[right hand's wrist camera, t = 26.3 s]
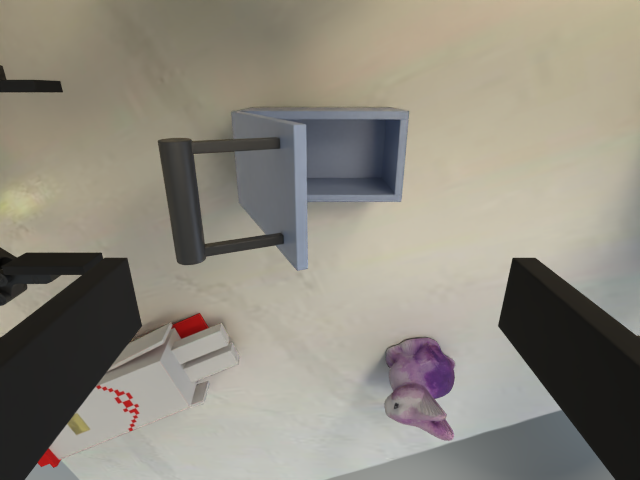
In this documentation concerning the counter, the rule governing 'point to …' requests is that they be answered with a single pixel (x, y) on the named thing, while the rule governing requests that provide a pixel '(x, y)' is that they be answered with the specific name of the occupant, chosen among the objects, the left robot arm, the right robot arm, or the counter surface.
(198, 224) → the door
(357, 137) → the chest
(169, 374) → the toy
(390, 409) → the figurine
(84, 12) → the counter surface
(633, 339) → the right robot arm
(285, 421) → the counter surface
